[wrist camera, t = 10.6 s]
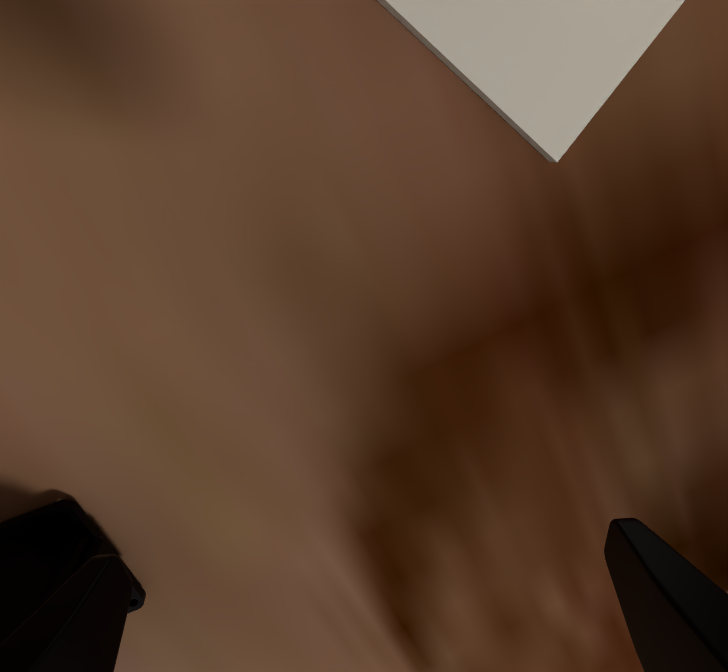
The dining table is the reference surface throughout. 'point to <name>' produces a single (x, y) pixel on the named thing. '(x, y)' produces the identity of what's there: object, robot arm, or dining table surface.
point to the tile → (538, 55)
